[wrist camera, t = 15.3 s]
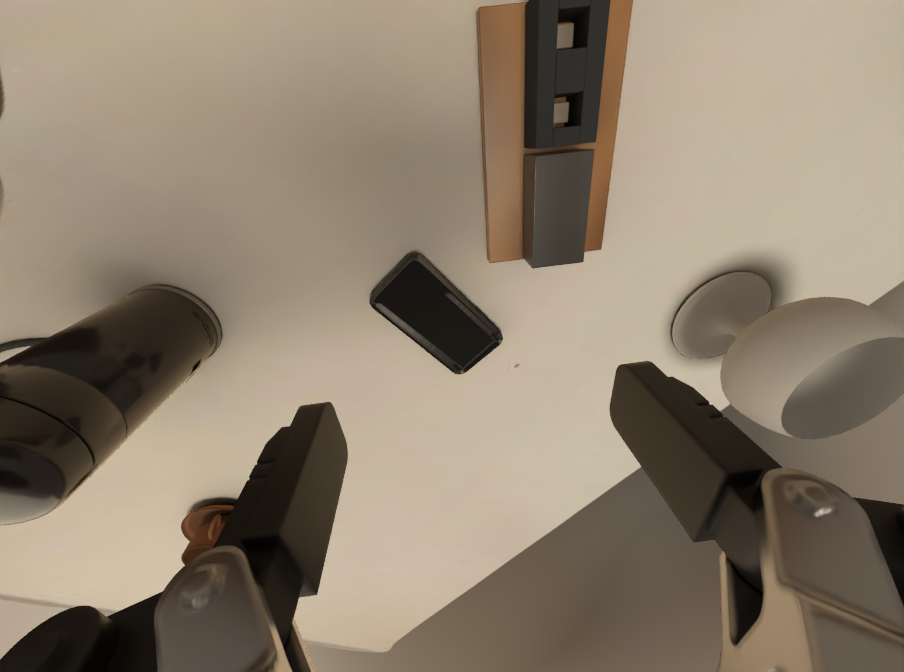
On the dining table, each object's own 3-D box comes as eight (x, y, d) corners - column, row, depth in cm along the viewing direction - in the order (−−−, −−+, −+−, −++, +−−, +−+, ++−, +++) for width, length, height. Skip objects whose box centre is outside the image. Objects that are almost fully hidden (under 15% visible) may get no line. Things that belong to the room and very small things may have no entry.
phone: (459, 377, 42) (364, 301, 36) (458, 372, 43) (366, 297, 37) (507, 338, 40) (415, 250, 34) (505, 333, 41) (415, 247, 35)
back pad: (523, 148, 30) (535, 149, 27) (524, 4, 25) (539, -15, 22) (578, 142, 30) (596, 142, 27) (589, -3, 26) (613, -23, 22)
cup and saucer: (173, 502, 51) (145, 544, 46) (252, 491, 52) (232, 532, 46) (210, 545, 57) (188, 586, 52) (280, 535, 58) (266, 575, 52)
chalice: (798, 265, 40) (981, 324, 27) (740, 363, 47) (863, 447, 34) (690, 260, 38) (828, 320, 25) (646, 361, 45) (738, 449, 32)
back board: (487, 259, 36) (496, 274, 32) (476, 12, 26) (486, -13, 22) (596, 246, 37) (618, 259, 33) (626, -4, 27) (664, -31, 22)
